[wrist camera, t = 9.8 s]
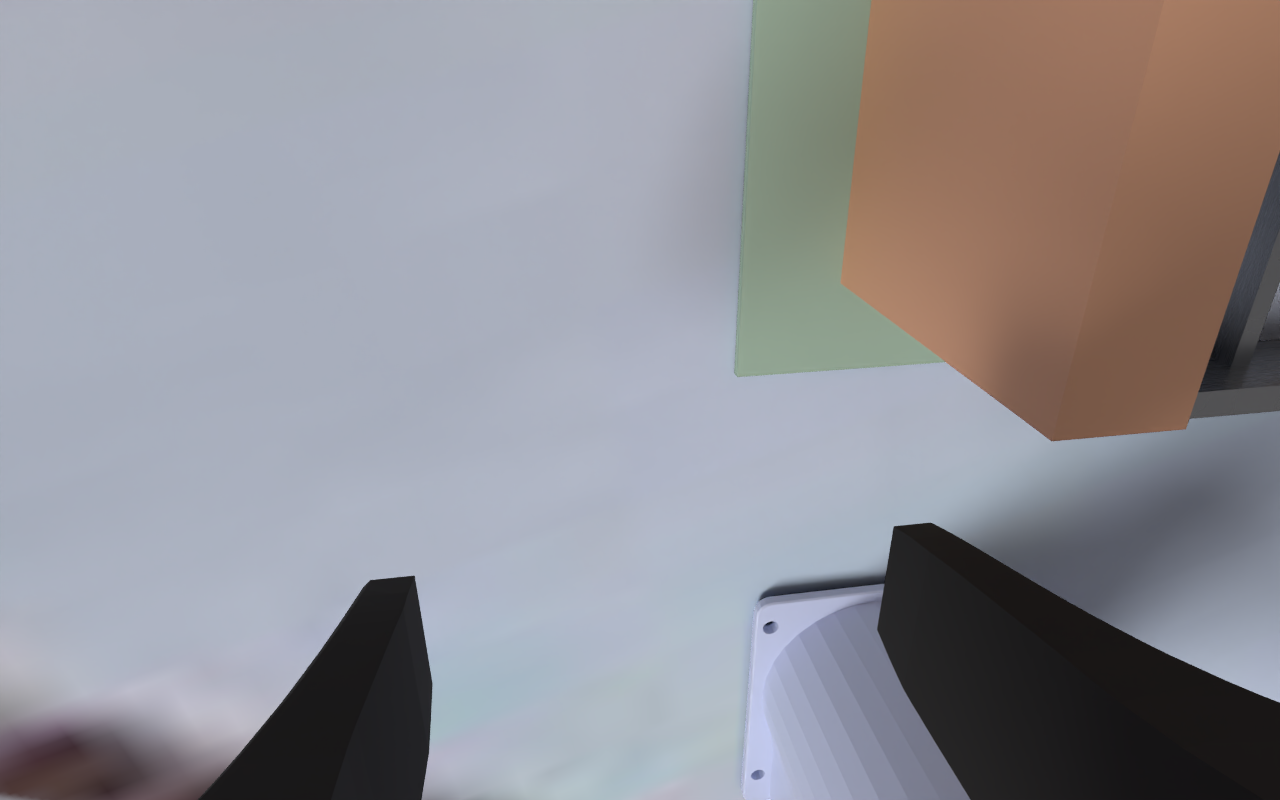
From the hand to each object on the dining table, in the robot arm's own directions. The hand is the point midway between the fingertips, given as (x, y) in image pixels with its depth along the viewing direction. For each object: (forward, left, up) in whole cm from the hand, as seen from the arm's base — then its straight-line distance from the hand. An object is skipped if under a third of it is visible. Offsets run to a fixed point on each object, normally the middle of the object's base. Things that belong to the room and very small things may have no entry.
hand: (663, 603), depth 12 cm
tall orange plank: (+5, -8, -10) cm, 14 cm away
